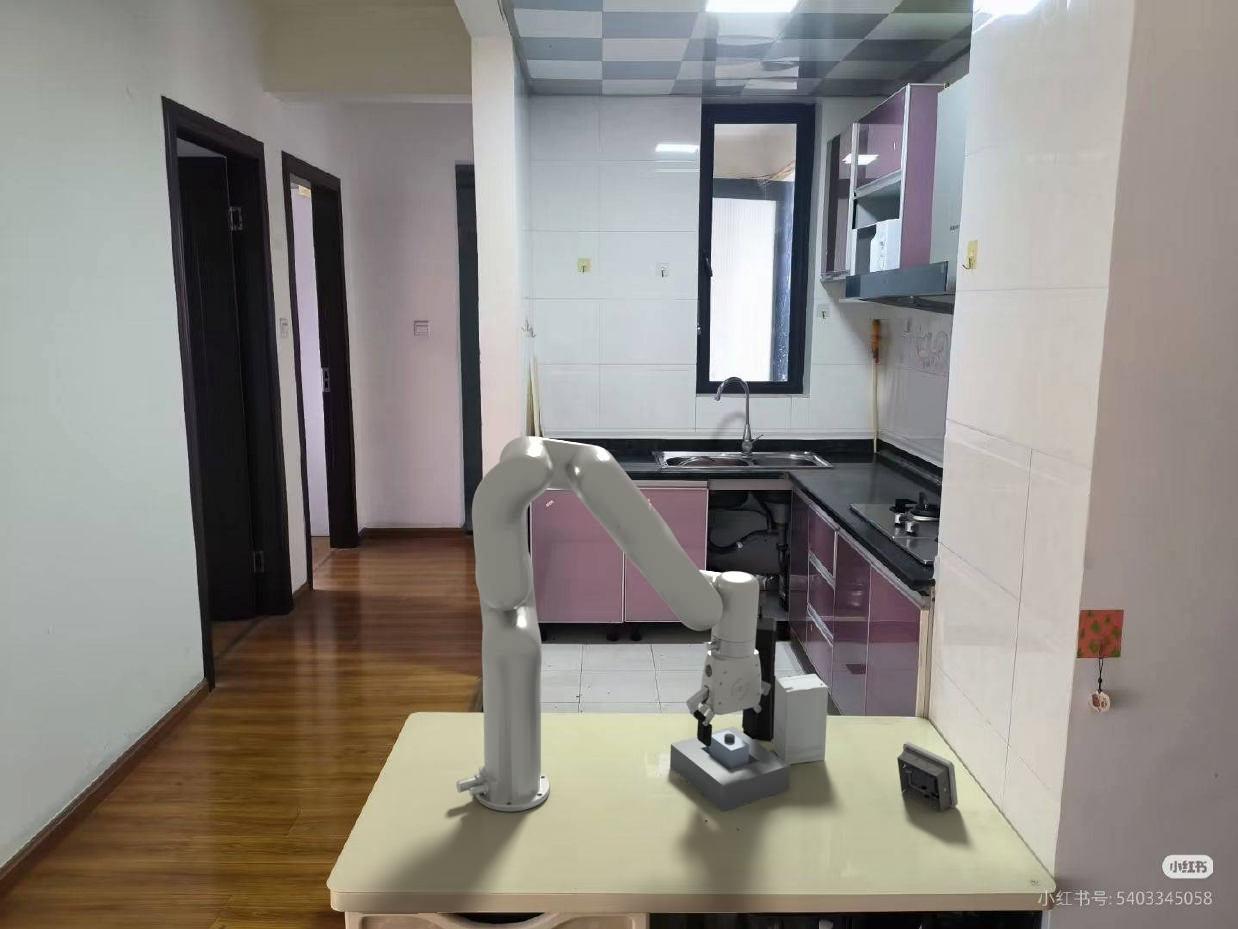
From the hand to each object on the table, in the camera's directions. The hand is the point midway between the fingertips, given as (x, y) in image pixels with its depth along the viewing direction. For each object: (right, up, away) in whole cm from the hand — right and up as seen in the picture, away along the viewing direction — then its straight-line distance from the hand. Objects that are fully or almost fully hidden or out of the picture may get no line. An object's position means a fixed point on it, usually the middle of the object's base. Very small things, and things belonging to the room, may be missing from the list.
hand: (726, 737), depth 157 cm
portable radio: (+8, -5, +18) cm, 20 cm away
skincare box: (+14, -7, +10) cm, 18 cm away
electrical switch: (+33, -10, -5) cm, 35 cm away
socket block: (0, -8, +2) cm, 8 cm away
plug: (0, -7, +1) cm, 7 cm away
